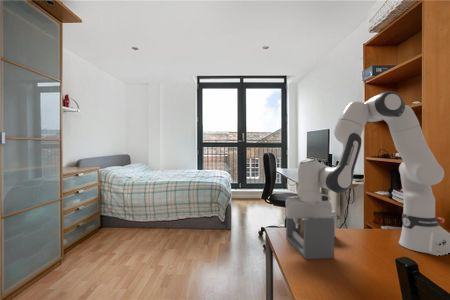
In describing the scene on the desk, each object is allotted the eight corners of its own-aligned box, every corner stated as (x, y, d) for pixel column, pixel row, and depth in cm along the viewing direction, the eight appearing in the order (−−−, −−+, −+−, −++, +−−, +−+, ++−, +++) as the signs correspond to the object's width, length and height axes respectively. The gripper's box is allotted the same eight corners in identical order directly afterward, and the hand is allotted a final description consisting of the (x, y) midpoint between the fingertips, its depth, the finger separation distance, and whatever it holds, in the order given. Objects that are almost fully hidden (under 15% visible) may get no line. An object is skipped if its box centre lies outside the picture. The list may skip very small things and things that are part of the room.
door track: (286, 238, 119) (286, 206, 119) (310, 237, 120) (310, 205, 120) (305, 259, 97) (305, 219, 97) (334, 257, 98) (334, 219, 98)
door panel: (299, 238, 115) (299, 217, 114) (305, 238, 115) (305, 217, 115) (310, 249, 103) (310, 225, 103) (317, 249, 103) (317, 225, 103)
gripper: (287, 198, 104) (287, 230, 104) (334, 197, 106) (334, 229, 106) (282, 195, 111) (283, 226, 111) (326, 194, 112) (326, 224, 113)
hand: (308, 227), depth 109 cm, fingers open, 8 cm apart
